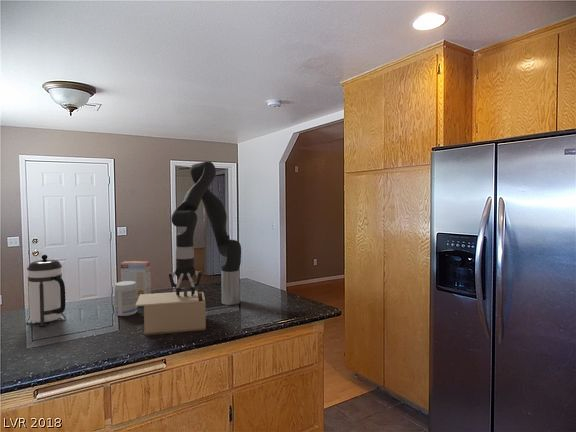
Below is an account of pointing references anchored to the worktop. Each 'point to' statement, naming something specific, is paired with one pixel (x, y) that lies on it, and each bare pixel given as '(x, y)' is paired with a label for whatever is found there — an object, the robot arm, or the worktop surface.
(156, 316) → the carton
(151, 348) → the worktop surface
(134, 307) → the supplement tub
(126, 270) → the cracker box
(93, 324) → the worktop surface
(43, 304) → the coffee press
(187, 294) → the carton lid
